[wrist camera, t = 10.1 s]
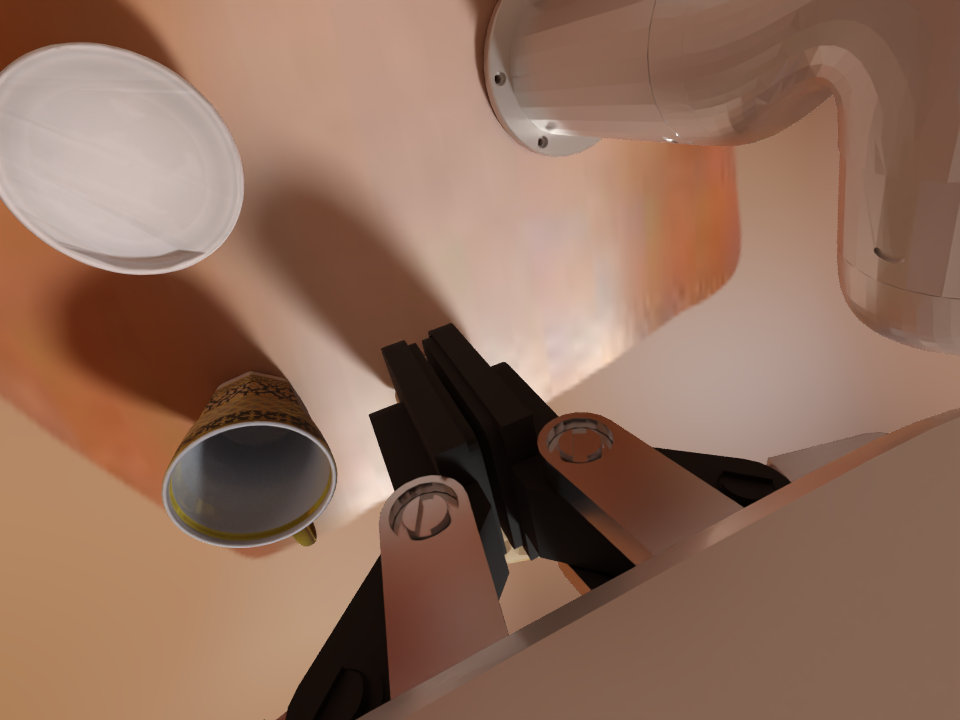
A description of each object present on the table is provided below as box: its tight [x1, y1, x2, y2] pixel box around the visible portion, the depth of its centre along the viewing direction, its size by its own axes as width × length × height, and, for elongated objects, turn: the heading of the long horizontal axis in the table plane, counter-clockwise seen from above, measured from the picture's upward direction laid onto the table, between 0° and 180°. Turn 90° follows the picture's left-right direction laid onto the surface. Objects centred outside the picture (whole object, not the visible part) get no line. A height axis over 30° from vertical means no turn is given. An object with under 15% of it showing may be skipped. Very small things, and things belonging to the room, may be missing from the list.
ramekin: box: [0, 42, 244, 275], centre depth 26 cm, size 11×11×5 cm
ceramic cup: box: [162, 371, 337, 548], centre depth 35 cm, size 13×10×10 cm
